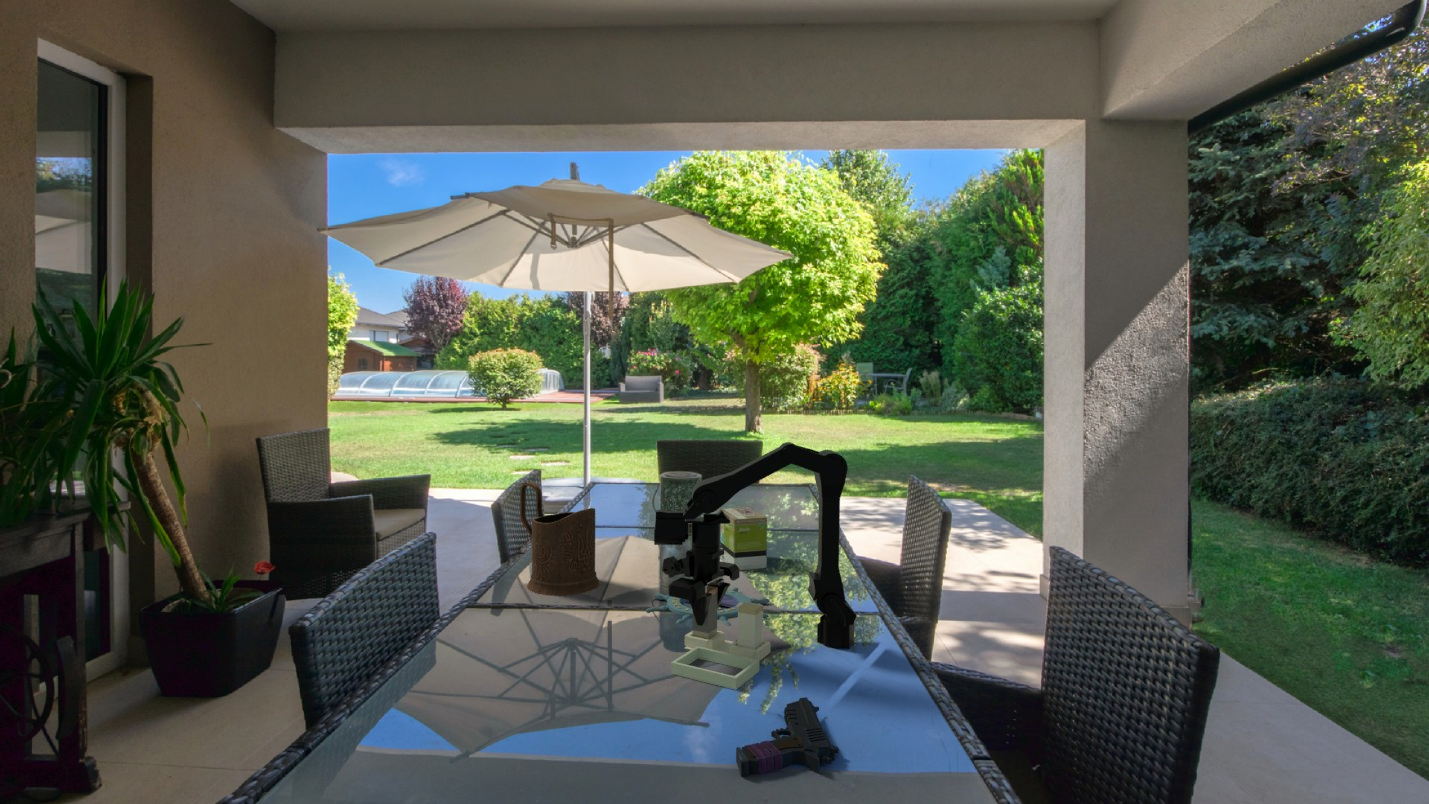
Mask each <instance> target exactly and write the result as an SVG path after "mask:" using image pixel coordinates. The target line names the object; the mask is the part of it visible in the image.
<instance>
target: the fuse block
mask: <svg viewBox="0 0 1429 804" xmlns="http://www.w3.org/2000/svg"><path fill="white" fill-rule="evenodd" d="M737 644H738V639H736V640H735V641H733V640H732V641H731V640H727V639H726V632H723V631H722V630H718V629H717V634H716V635H714V636H713V637H711V638H710V639H704V638H699V637H695V636H692V630H691V631H690V632H688V633H686V634H685V635H684V646H685V647H684V649H686V650H689V651H690V650H692V649H693V648H695V647H697V646H698V647H703V648H707V649H712V650H716V651H721V652H725V653H729V654H734V655H738V656H743V657H747V658H752V659H756V660H759V662H760V661H762V660H763V659H764V658H765V657H767V656H768V655H769V654H771V645H772V644H771V642H770V641H768V640H764V639H763V645H762V646H760V647H759V648H758V649H756V650H754V649H749V648H744V647H740V646H737Z"/></svg>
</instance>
